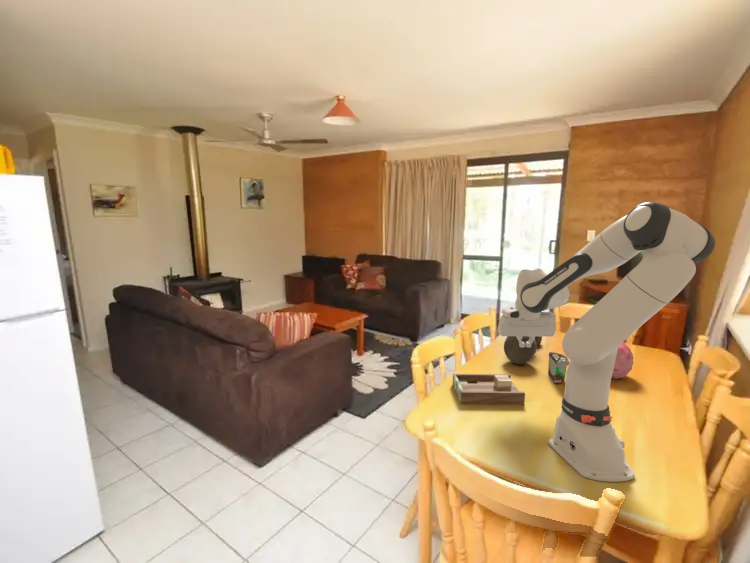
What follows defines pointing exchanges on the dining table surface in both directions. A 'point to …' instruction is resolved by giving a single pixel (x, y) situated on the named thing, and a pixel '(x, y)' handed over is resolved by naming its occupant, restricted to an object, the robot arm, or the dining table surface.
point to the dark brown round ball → (519, 349)
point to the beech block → (502, 382)
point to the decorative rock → (622, 361)
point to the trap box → (484, 390)
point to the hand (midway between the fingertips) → (525, 346)
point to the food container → (557, 367)
